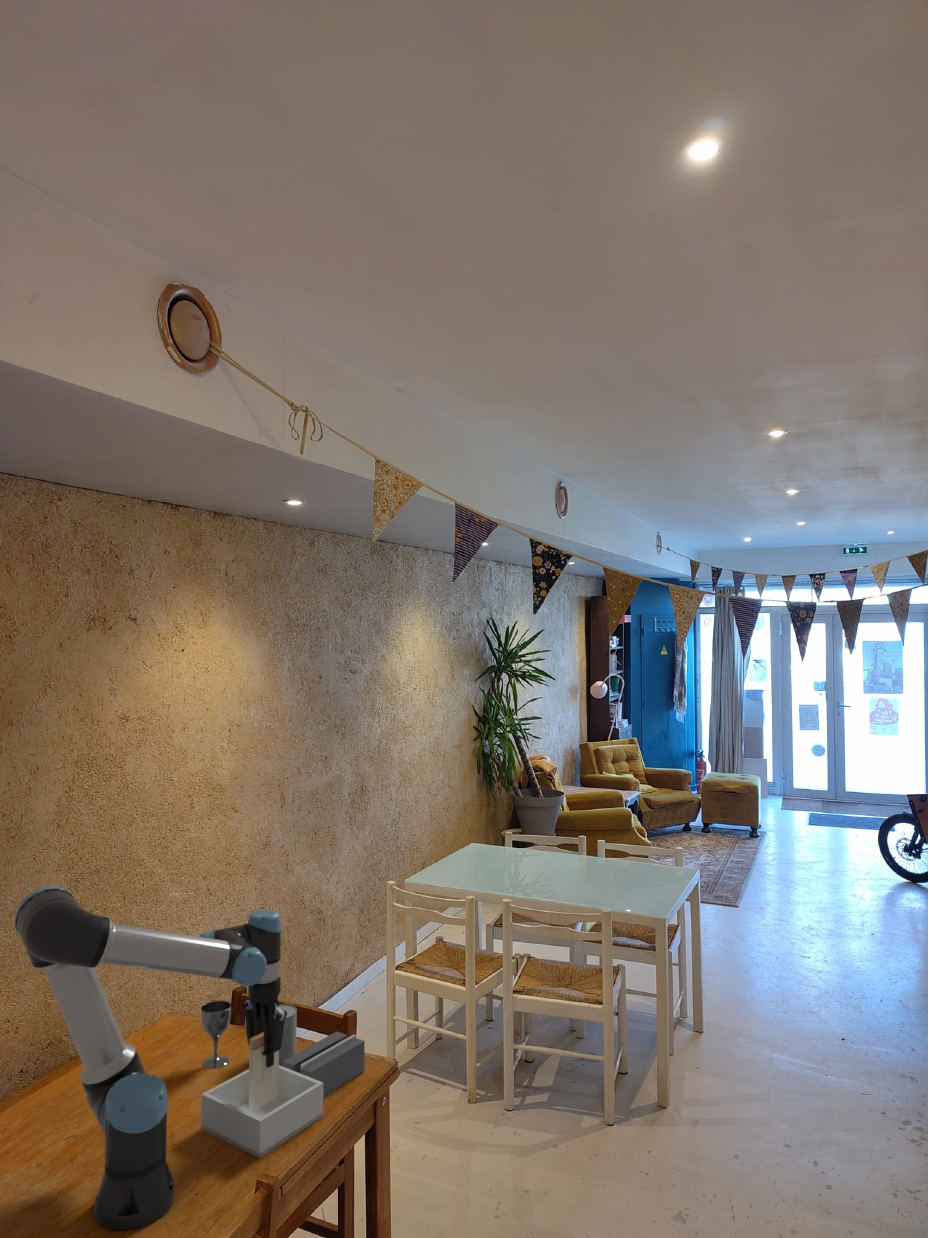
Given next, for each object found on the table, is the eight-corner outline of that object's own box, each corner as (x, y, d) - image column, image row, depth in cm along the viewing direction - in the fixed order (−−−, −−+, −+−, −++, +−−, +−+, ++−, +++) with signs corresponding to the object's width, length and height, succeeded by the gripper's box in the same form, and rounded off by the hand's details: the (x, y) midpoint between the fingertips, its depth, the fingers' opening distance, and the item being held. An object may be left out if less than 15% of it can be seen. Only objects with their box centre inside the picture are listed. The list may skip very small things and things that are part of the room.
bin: (259, 1158, 184) (260, 1121, 184) (201, 1129, 195) (201, 1094, 195) (323, 1116, 200) (323, 1083, 201) (265, 1092, 211) (265, 1060, 212)
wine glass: (194, 1067, 224) (194, 1010, 225) (211, 1053, 232) (212, 999, 232) (219, 1071, 222) (220, 1014, 222) (236, 1057, 229) (236, 1002, 230)
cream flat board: (253, 1112, 194) (253, 1041, 195) (248, 1110, 195) (248, 1039, 196) (278, 1096, 201) (279, 1028, 201) (274, 1094, 202) (274, 1026, 202)
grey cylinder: (300, 1049, 234) (301, 1005, 235) (290, 1066, 225) (290, 1020, 225) (268, 1047, 235) (268, 1003, 236) (256, 1064, 226) (256, 1018, 226)
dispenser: (311, 1105, 205) (311, 1069, 206) (282, 1093, 211) (282, 1058, 211) (364, 1071, 222) (364, 1038, 222) (336, 1061, 227) (336, 1028, 228)
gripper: (297, 979, 198) (297, 1080, 197) (255, 966, 206) (255, 1063, 205) (274, 990, 192) (273, 1094, 191) (231, 976, 200) (231, 1076, 199)
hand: (264, 1078), depth 198 cm, fingers closed on cream flat board, 1 cm apart
